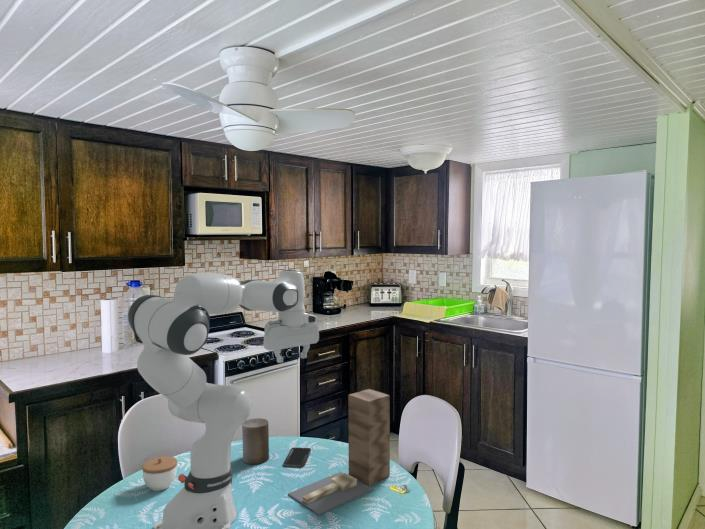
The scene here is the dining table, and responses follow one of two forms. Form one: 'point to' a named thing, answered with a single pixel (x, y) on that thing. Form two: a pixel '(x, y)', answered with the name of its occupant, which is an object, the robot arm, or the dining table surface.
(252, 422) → the pillar candle
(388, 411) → the walnut stand
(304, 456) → the phone
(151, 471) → the lidded jar
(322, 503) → the rubber mat
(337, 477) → the beech spatula
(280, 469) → the dining table surface
